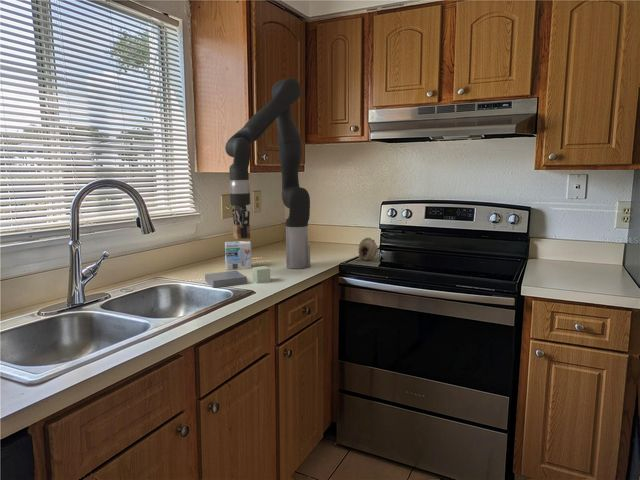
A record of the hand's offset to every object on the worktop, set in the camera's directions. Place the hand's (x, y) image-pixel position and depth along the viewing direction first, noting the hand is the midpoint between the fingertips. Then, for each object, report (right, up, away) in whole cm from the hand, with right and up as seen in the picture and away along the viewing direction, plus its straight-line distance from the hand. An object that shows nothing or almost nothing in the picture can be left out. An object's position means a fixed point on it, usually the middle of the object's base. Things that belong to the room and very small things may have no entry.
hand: (241, 236), depth 172 cm
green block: (+8, -16, -7) cm, 20 cm away
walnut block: (0, -1, 0) cm, 0 cm away
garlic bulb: (+51, -10, +31) cm, 61 cm away
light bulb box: (-4, -13, +17) cm, 22 cm away
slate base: (-5, -17, -8) cm, 19 cm away
